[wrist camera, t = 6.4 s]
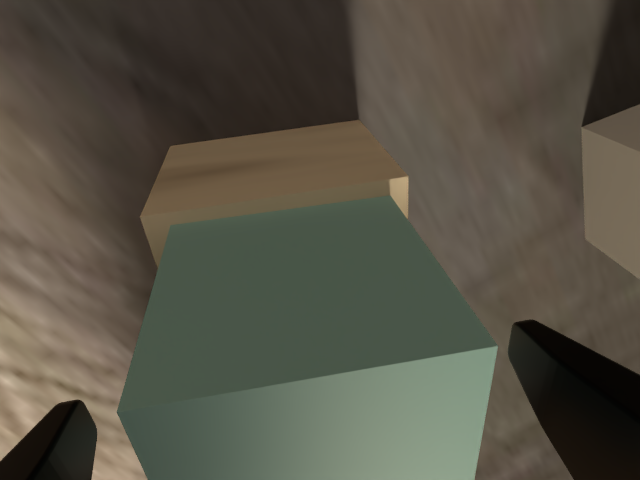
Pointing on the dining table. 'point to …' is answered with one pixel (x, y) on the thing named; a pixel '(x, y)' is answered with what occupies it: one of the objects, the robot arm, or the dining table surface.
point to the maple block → (269, 176)
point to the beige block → (613, 186)
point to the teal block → (307, 353)
